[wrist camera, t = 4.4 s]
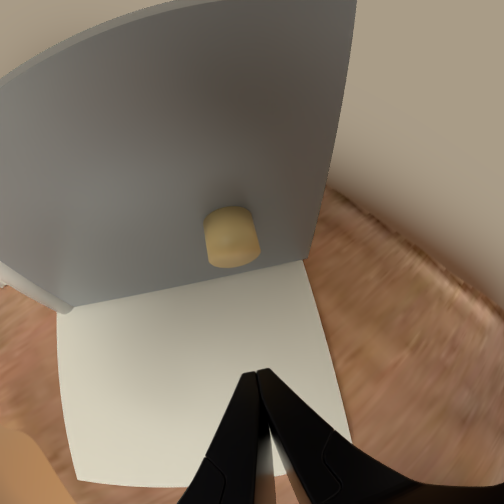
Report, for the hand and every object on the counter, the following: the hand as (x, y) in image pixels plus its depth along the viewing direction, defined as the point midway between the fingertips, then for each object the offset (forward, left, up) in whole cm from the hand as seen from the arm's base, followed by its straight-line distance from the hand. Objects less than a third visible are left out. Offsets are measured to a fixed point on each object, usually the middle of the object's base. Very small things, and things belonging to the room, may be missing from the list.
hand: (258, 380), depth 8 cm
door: (+7, +3, -6) cm, 10 cm away
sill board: (+3, +4, -8) cm, 9 cm away
